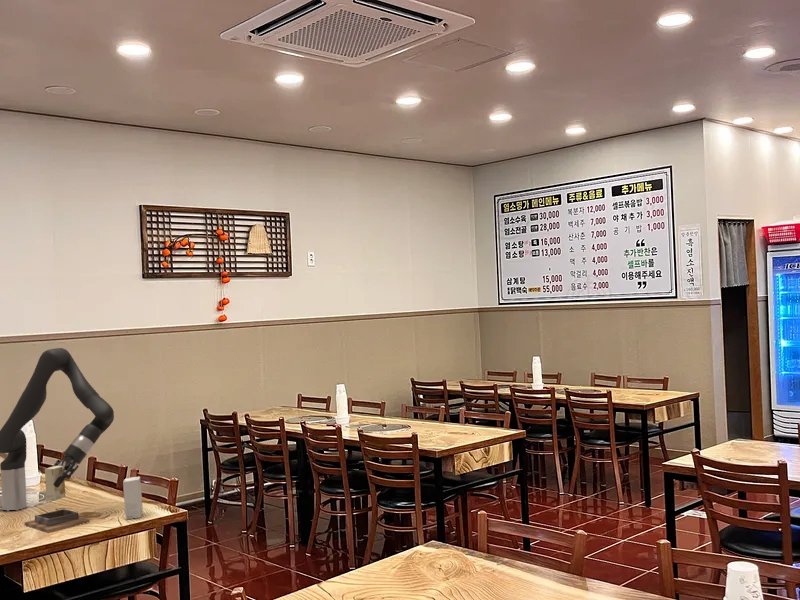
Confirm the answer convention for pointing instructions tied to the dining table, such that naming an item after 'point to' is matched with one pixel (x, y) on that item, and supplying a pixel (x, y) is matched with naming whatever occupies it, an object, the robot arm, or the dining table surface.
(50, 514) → the collar board
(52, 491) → the skincare box
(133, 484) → the skincare box
